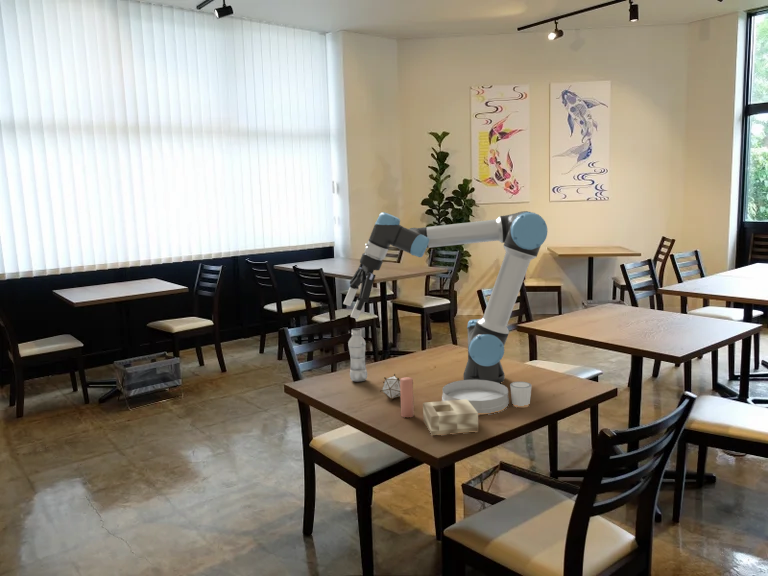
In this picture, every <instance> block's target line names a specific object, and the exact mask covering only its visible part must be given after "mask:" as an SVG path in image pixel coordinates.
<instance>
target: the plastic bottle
mask: <svg viewBox="0 0 768 576" xmlns="http://www.w3.org/2000/svg"><path fill="white" fill-rule="evenodd" d="M362 335H363V333H362V329H361V328H352V329H351V337H350V338H349V340H348V341H347V343H348V344H347V345H348V351H349V355H350V370H349V377H350V380H351V381H352V382H355V383H358V382H359V383H361V382H365V381H366V380H367V379H368V371H367V366H366V345H367V344H366V340H365V339H364V337H363V336H362Z"/></svg>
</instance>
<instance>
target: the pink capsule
mask: <svg viewBox="0 0 768 576" xmlns="http://www.w3.org/2000/svg"><path fill="white" fill-rule="evenodd" d="M399 380H400V393H401V397H400V414H401V415H400V416H401V417H402V418H405V417H410V418H412V417H414V415H415V414H414V409H415V408H414V382H413V381H414V378H413V377H409V376H408V377H407V376H405V377H401V378H399Z"/></svg>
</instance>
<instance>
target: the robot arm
mask: <svg viewBox="0 0 768 576" xmlns="http://www.w3.org/2000/svg"><path fill="white" fill-rule="evenodd" d="M547 237H548V226H547V223H546V221H545V219H544V218H543V217H542V216H541V215H539V214H538V213H536V212H531V211H527V210H526V211H525V210H524V211H519V212H515V213H512V214H506V215H505V214H504V215H500V216H498V217H497V218H496V219H489V220H488V219H487V220H486V219H485V220H479V221H469V222H462V223H460V222H459V223H452V224H444V225H433V226H426V227H411V228H406V227H405V226H403V225H401V219H400V218H399V217H397V216H395V215H393V214H390V213H387V212H383V211H382V212H380V213H379V215H378V217H377V219H376V221H375V222H374V225H373V228H372V231H371V233H370V236H369V238H368V241H367V243H365V244H364V246H365V248H364V250H363V251H364V252H363V253H362V254H361V257H360V259H359V263H360V264H359V266H358V268H357V269H356V271H355V272H354V275H353V277H352V278H351V280H350V281H349V288H348V290H347V293H346V296H345V298H344V301H343V303H342V304H343V305H346V306H348V307H351V306H352V303H353V301H354V299H355V296H356V293H357V291H358V290H359V287H360V290H359V296H358V297H357V298H356V301H355V305H354V307H353V308H352V311H351V314H350V318H354V319H356V320H359V318H360V315H361V312H362V311H363V308H364V306H365V303H368V302H369V301H370V296H371V292H372V288H373V285H374V281H375V279H376V274H374V271H380V270H381V267H382V265H383V262H384V261H383V260H385V258H386V256H387V253H388V251H389V248H390V246H392V247H393V248H396V249H398V250H401V251H403V252H405V253H408V254H410V255H411V256H415V257H416V258H417V257H418V258H422V257H424V255H425V253H426V250H427V248H428V249H429V248H437V247H439V248H440V247H448V246H457V245H459V246H460V245H468V244H476V243H477V244H478V243H479V244H480V243H486V242H487V243H488V242H497V241H498V242H499V243H501V244H503V249H504V250H505V254H504V256H503V260H502V262H501V266H500V269H499V271H498V272H497V273H498V274H497V276H496V279H495V282H494V285H493V288H492V290H491V294H490V295H489V299H488V302H487V305H486V308H485V310H484V314H483V316H482V318H478V319H469V321H468V322H467V326H466V329H467V363H466V365H465V367H464V372H463V380H487V381H493V382H497V383H501V382H503V381H504V379H505V375H506V374H505V371H504V369H503V366H502V363H501V360H502V359H503V357H504V355H505V344H506V343H507V340H508V336H509V334H510V331H509V329H508V327H507V326H508V324H509V320H510V318H511V315H512V312H513V309H514V307H515V305H516V301H517V299H518V296H519V293H520V290H521V289H522V286H523V282H524V279H525V276H526V274H527V271H528V268H529V265H530V263H531V261H532V260H533V259H536V258H537V257H538V254H539V252H540V249H541V246H542V245H543V244H544V243H545V241H546V239H547ZM505 380H506V379H505ZM504 382H505V381H504ZM504 382H503V383H504ZM501 384H502V383H501Z"/></svg>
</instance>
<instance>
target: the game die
mask: <svg viewBox="0 0 768 576" xmlns="http://www.w3.org/2000/svg"><path fill="white" fill-rule="evenodd" d="M383 379H384V381H382V383H383V385H382V387H381V389H380V390H379V393H381V392H382V393H384V395H386V397H389V399H390V402H392V401H393V399H395V398H398V397H400V398H401V393H400V377H397V376H396V373H394V374H393V376H390V377H383Z"/></svg>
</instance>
